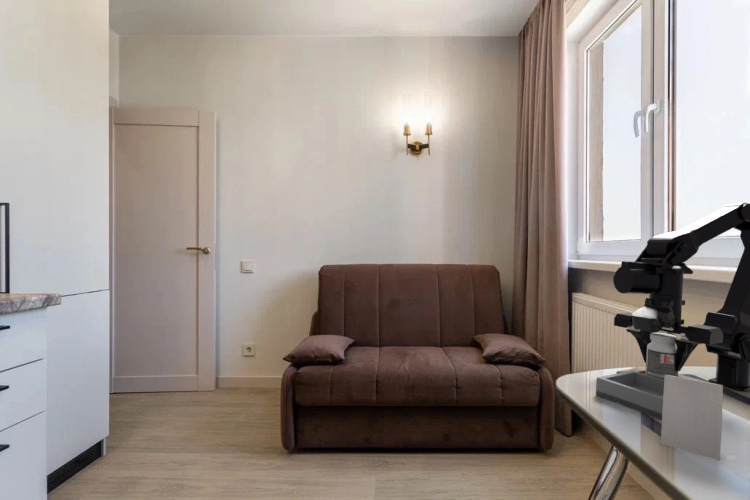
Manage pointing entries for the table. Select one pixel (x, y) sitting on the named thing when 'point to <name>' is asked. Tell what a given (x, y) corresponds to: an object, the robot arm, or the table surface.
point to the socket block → (643, 370)
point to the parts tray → (633, 391)
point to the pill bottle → (661, 355)
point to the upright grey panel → (692, 416)
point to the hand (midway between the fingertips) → (661, 366)
